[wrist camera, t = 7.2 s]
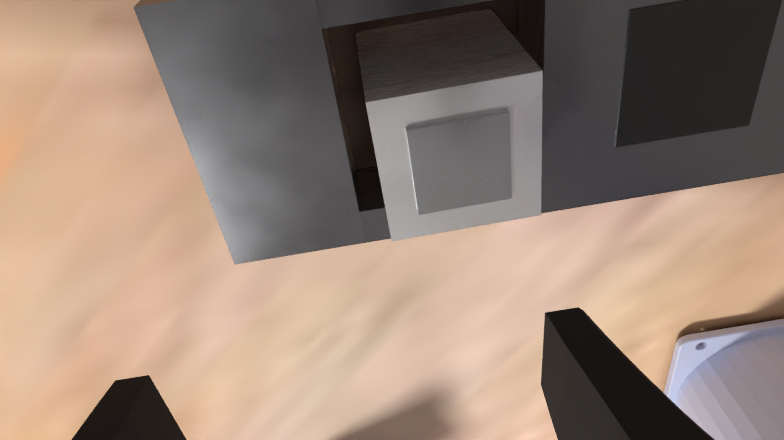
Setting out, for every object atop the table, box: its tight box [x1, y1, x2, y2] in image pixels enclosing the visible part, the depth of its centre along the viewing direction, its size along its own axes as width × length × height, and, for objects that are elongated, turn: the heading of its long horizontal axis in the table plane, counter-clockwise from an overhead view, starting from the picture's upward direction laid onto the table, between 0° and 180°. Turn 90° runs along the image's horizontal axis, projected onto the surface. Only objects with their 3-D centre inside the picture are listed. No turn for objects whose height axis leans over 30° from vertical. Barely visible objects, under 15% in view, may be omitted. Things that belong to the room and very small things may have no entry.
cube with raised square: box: [355, 8, 543, 241], centre depth 16 cm, size 4×4×5 cm
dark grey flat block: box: [134, 0, 784, 264], centre depth 17 cm, size 18×8×2 cm, turn 98°
